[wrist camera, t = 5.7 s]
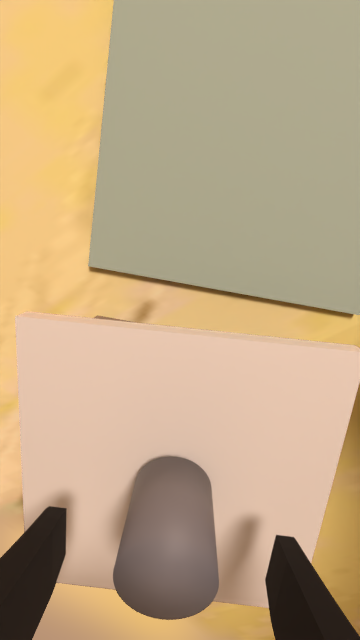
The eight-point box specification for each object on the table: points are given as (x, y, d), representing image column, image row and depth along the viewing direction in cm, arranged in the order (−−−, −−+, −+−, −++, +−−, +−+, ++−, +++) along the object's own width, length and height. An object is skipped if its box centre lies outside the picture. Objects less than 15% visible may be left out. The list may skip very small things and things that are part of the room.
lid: (354, 345, 11) (461, 407, 7) (292, 591, 14) (336, 743, 10) (27, 311, 11) (-77, 350, 7) (35, 560, 14) (-33, 696, 10)
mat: (465, -19, 12) (474, -28, 11) (355, 313, 15) (359, 315, 15) (125, -81, 12) (122, -92, 11) (90, 265, 15) (88, 266, 15)
